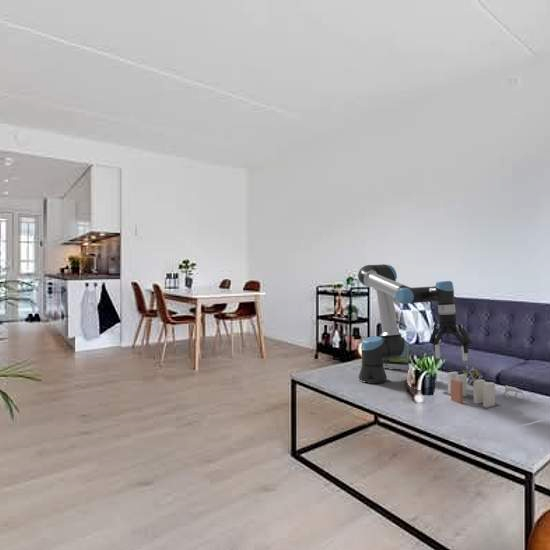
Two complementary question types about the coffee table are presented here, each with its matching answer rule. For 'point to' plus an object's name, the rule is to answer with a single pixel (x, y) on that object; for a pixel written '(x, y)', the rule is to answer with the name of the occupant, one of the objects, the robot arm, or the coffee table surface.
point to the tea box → (398, 362)
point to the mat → (470, 400)
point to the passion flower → (472, 375)
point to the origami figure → (513, 391)
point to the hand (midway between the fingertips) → (451, 359)
